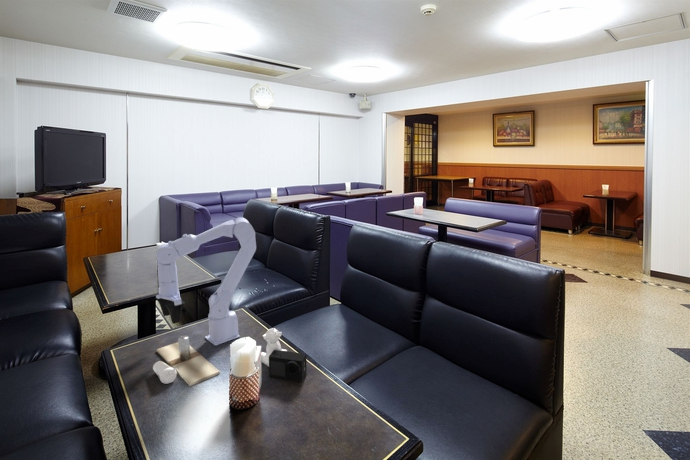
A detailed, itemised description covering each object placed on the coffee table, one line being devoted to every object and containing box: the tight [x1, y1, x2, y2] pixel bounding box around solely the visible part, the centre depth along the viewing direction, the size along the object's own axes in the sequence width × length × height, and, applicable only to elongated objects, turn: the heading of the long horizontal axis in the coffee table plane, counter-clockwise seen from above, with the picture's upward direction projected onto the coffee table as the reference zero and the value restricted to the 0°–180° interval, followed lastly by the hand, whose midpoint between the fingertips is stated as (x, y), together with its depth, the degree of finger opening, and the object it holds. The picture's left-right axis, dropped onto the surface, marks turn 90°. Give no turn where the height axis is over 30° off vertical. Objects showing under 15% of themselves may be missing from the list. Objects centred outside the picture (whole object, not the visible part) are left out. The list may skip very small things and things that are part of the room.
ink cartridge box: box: [244, 336, 263, 401], centre depth 104 cm, size 9×5×15 cm, turn 5°
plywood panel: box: [156, 341, 220, 387], centre depth 119 cm, size 9×26×1 cm, turn 45°
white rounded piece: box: [152, 360, 179, 385], centre depth 111 cm, size 4×5×10 cm
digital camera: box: [268, 350, 307, 383], centre depth 112 cm, size 10×5×7 cm, turn 78°
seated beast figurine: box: [261, 327, 288, 368], centre depth 119 cm, size 10×9×12 cm
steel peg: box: [177, 335, 191, 361], centre depth 119 cm, size 3×3×7 cm
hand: (171, 318), depth 127 cm, fingers open, 7 cm apart
